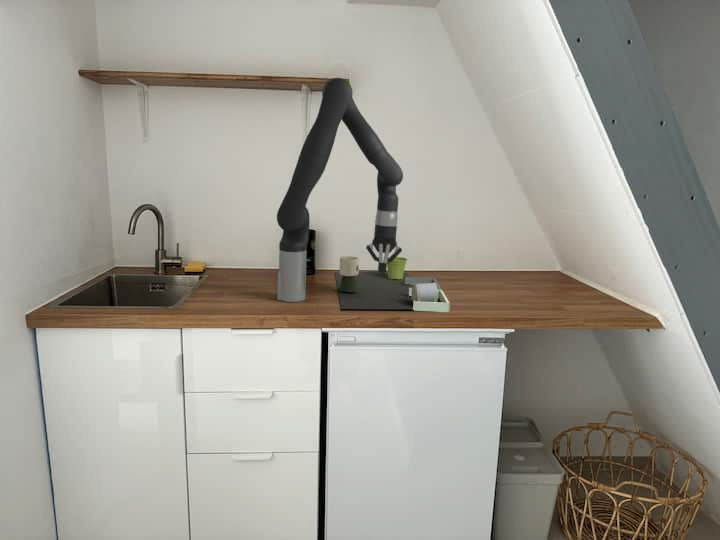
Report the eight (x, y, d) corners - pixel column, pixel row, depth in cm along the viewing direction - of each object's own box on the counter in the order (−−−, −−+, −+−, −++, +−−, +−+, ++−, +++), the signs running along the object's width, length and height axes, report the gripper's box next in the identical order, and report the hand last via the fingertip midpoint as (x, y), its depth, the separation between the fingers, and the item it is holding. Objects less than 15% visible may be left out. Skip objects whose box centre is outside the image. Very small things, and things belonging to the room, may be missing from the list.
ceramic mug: (410, 301, 187) (411, 280, 185) (432, 301, 188) (434, 280, 186) (416, 310, 176) (418, 287, 175) (440, 310, 177) (442, 288, 176)
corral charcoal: (408, 295, 194) (409, 288, 194) (404, 284, 214) (405, 277, 213) (441, 297, 194) (441, 289, 194) (434, 285, 213) (434, 278, 213)
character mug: (360, 295, 192) (361, 260, 189) (340, 295, 190) (341, 260, 188) (355, 288, 202) (356, 255, 200) (336, 288, 201) (338, 255, 198)
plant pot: (381, 279, 221) (382, 259, 219) (387, 275, 229) (388, 255, 228) (403, 282, 218) (404, 261, 216) (408, 277, 227) (409, 257, 225)
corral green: (413, 310, 175) (413, 301, 174) (408, 296, 194) (409, 288, 193) (449, 312, 175) (449, 303, 174) (441, 297, 194) (441, 289, 193)
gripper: (367, 223, 176) (363, 274, 180) (406, 226, 177) (401, 276, 180) (366, 221, 184) (362, 269, 187) (404, 223, 184) (399, 272, 188)
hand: (381, 273), depth 184 cm, fingers closed
